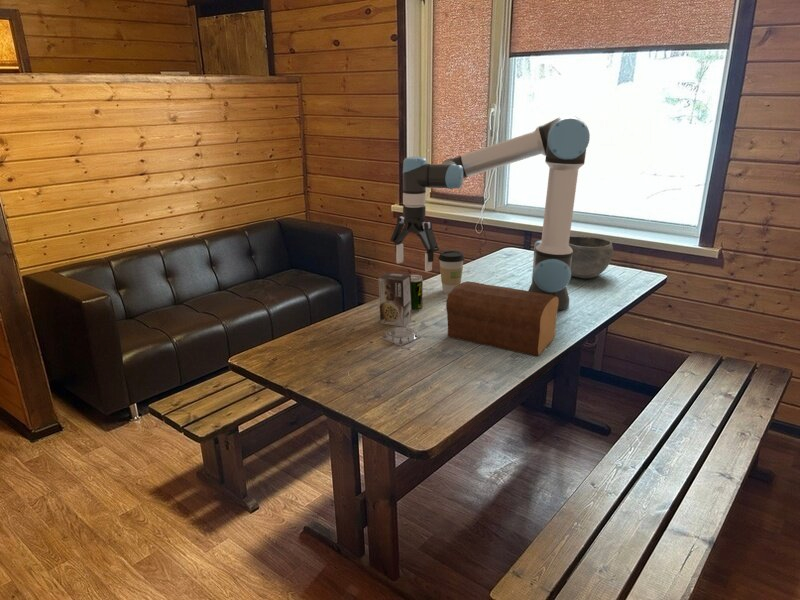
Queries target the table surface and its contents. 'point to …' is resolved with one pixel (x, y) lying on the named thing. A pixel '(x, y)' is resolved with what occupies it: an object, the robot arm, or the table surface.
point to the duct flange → (400, 335)
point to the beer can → (416, 293)
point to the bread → (502, 317)
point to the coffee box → (395, 299)
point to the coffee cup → (451, 269)
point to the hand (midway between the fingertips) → (413, 266)
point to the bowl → (589, 256)
